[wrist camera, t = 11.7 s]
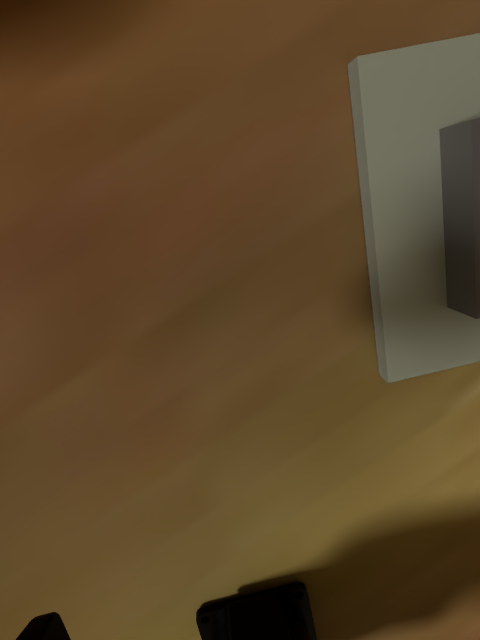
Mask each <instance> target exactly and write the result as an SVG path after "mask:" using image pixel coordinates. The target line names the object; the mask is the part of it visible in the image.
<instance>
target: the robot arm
mask: <svg viewBox="0 0 480 640" xmlns="http://www.w3.org/2000/svg"><path fill="white" fill-rule="evenodd" d="M196 622H197V625H198V629H199V632H200V635H201V638H202V640H317V639H316V633H315V628H314V623H313V618H312V613H311V608H310V603H309V597H308V593H307V589H306V586H305V584H303V583H301V582H296V583H292V584H289V585H285V586H281V587H277V588H273V589H269V590H266V591H262V592H258V593H254V594H250V595H247V596H243V597H239V598H235V599H231V600H227V601H224V602H220V603H216V604H212V605H208V606H205V607H202V608H200V609H198V610H197V613H196ZM16 640H71V639H70V637H69V635H68V632H67V630H66V628H65V626H64V623H63V621H62V619H61V617H60V615H59V614H58V613H56V612H52V613H48V614H44V615H40V616H37V617H35V618H33V619H32V620H31V621H30V622H29V623H28V625H27V626H26V627H25V629H24V630H23V631H22V632H21V634H20V635H19V636H18V637H17V639H16Z"/></svg>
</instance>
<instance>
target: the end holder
mask: <svg viewBox="0 0 480 640" xmlns="http://www.w3.org/2000/svg"><path fill="white" fill-rule="evenodd" d="M348 75H349V84H350V94H351V104H352V114H353V123H354V133H355V143H356V153H357V162H358V172H359V182H360V192H361V202H362V211H363V221H364V231H365V241H366V250H367V260H368V270H369V280H370V289H371V299H372V309H373V319H374V329H375V338H376V348H377V358H378V368H379V375H380V376H381V377H382V378H383V379H385V380H386V381H387V382H388V383H390V382H395V381H399V380H403V379H407V378H412V377H416V376H420V375H424V374H428V373H433V372H437V371H441V370H445V369H450V368H454V367H458V366H462V365H466V364H471V363H475V362H479V361H480V33H478V34H473V35H468V36H462V37H457V38H452V39H447V40H441V41H436V42H431V43H426V44H420V45H415V46H410V47H404V48H399V49H394V50H389V51H383V52H378V53H373V54H368V55H362V56H357V57H356V58H355V59H354V60H353V61H351V62H350V63H349V64H348Z"/></svg>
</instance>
